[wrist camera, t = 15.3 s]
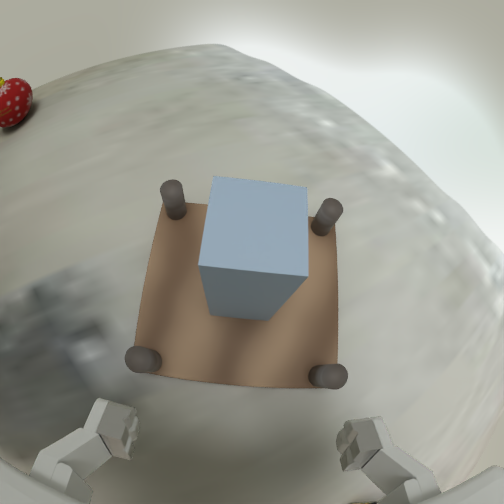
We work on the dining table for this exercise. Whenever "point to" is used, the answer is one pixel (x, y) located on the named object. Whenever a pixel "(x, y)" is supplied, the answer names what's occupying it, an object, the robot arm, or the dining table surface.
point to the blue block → (253, 247)
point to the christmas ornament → (14, 101)
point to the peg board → (235, 329)
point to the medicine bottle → (366, 503)
